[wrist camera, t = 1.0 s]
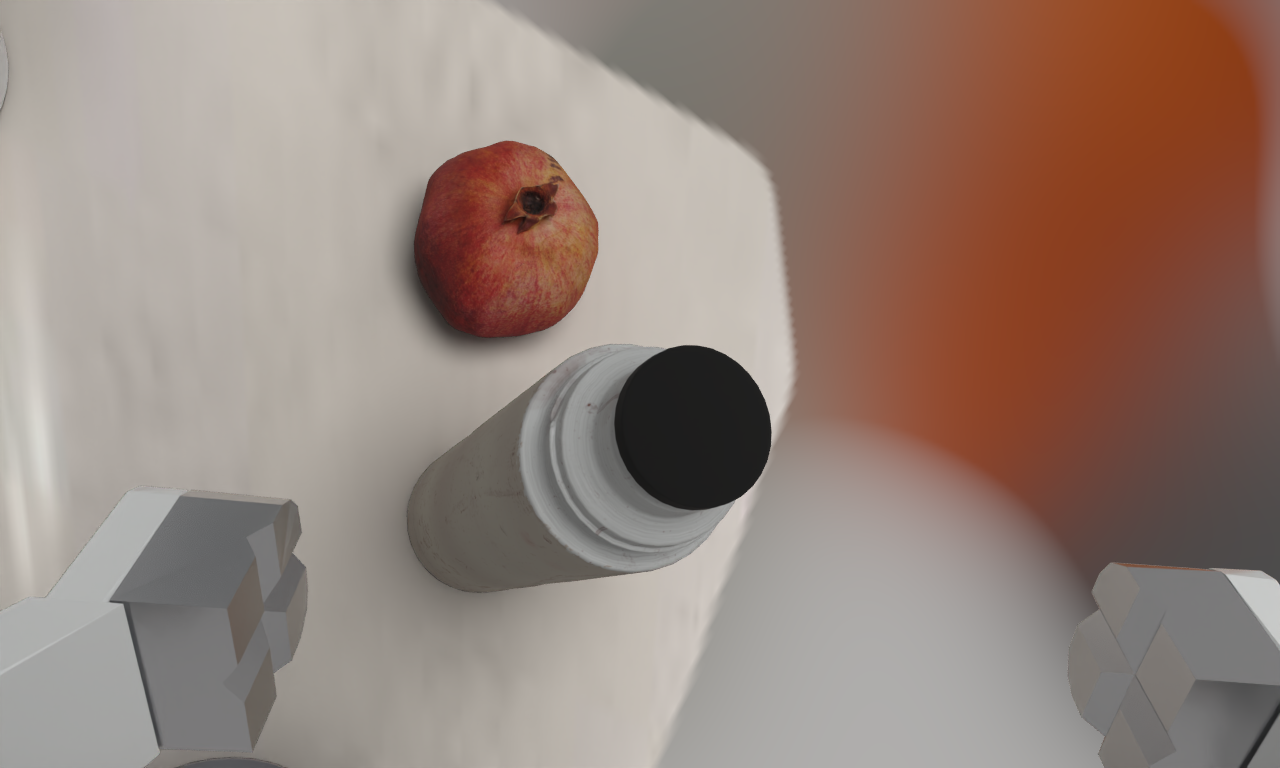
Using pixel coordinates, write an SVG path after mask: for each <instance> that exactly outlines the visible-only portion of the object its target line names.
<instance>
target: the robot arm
mask: <svg viewBox="0 0 1280 768" xmlns="http://www.w3.org/2000/svg"><path fill="white" fill-rule="evenodd" d="M7 84H8V57H7V51H6V46H5V42H4V38H3V35H2V33H1V30H0V109H1V107H2V104H3V101H4V98H5V94H6V89H7ZM301 533H302V531H301V524H300V518H299V512H298V506H297V505H296V504H295V503H294V502H293V501H292V500H291V499H281V498H271V497H261V496H250V495H240V494H230V493H220V492H210V491H200V490H190V491H188V490H183V489H172V488H161V487H150V486H138V487H136V488H134V489H132V490H129V491H128V492H127V493H125V494H124V496H123V497H122V498H121V500H120V501H119V502H118V504H117V505H116V506H115V507H114V509H113V510H112V511H111V513H110V514H109V515H108V517H107V518H106V519H105V521H104V522H103V523H102V524H101V526H100V527H99V528H98V530H97V531H96V532H95V534H94V535H93V536H92V537H91V539H90V540H89V541H88V543H87V544H86V545H85V547H84V548H83V549H82V550H81V552H80V553H79V554H78V556H77V557H76V558H75V560H74V561H73V562H72V564H71V565H70V566H69V567H68V569H67V570H66V571H65V573H64V574H63V575H62V577H61V578H60V579H59V580H58V582H57V583H56V584H55V586H54V587H53V588H52V590H51V591H50V592H49V593H48V595H47V596H46V597H45V598H40V597H27V598H25V599H23V600H22V601H20V602H18V603H16V604H14V605H12V606H10V607H8V608H6V609H4V610H2V611H0V768H144V767H145V766H146V765H147V764H148V763H150V762H151V761H152V760H153V759H154V758H156V757H157V756H158V755H159V754H160V751H159V749H180V750H204V751H229V752H253V750H254V748H255V745H256V743H257V741H258V738H259V736H260V734H261V731H262V729H263V727H264V724H265V722H266V720H267V717H268V715H269V713H270V710H271V708H272V706H273V703H274V701H275V699H276V688H275V681H274V674H273V673H274V672H276V671H277V670H279V669H280V668H282V667H283V666H284V665H286V664H287V663H289V662H290V661H292V658H293V656H294V653H295V651H296V648H297V646H298V643H299V641H300V638H301V634H302V629H303V625H304V620H305V615H306V611H307V593H308V584H307V574H306V567H305V566H304V565H303V564H302V563H301V562H300V561H299V559H298V558H297V557H296V556H295V555H294V554H293V553H292V552H293V550H294V548H295V546H296V544H297V542H298V539H299V537H300V535H301ZM1092 594H1093V596H1094V598H1095V600H1096V603H1097V605H1098V607H1099V610H1098V611H1096V612H1095V613H1093V614H1092V615H1091V616H1089V617H1088V618H1086V619H1085V620H1083V621H1082V622H1081V623H1079V624H1078V625H1077V628H1076V630H1075V633H1074V636H1073V639H1072V641H1071V644H1070V647H1069V652H1068V679H1069V684H1070V689H1071V694H1072V697H1073V699H1074V701H1075V704H1076V706H1077V709H1078V710H1079V713H1080V715H1081V717H1082V718H1083V719H1085V720H1086V721H1087V722H1088V723H1089V724H1090V725H1092V726H1093V727H1094V728H1095V729H1097V730H1098V731H1099V732H1100V733H1101V734H1103V735H1104V736H1105V737H1104V740H1103V743H1102V745H1101V748H1100V750H1099V753H1098V755H1099V757H1100V759H1101V761H1102V763H1103V766H1104V768H1280V585H1279V583H1278V582H1277V581H1276V580H1275V579H1274V578H1272V577H1270V576H1269V575H1267V574H1265V573H1263V572H1262V571H1253V570H1235V569H1217V568H1210V569H1208V570H1206V569H1196V568H1181V567H1168V566H1153V565H1140V564H1126V563H1125V564H1124V563H1110V564H1109V565H1108V566H1107V567H1106V568H1105V569H1104V570H1103V571H1102V572H1101V573H1100V574H1099V576H1098V579H1097V581H1096V583H1095V586H1094V588H1093V590H1092Z"/></svg>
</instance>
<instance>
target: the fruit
mask: <svg viewBox="0 0 1280 768" xmlns="http://www.w3.org/2000/svg"><path fill="white" fill-rule="evenodd" d="M414 253H415V262H416V266H417V271H418V275H419V278H420V281H421V284H422V286H423V288H424V290H425V291H426V293H427V294H428V296H429V298H430V299H431V300H432V302H433V303H434V305H435V306H436V308H437V309H438V310H439V312H440V313H441V314H442V316H443V317H444V318H445V320H446V321H447V322H448V324H450V325H451V326H452V327H453V328H454V329H457V330H460V331H463V332H466V333H469V334H472V335H475V336H479V337H489V338H491V337H512V336H521V335H525V334H530V333H533V332H537V331H542V330H545V329H547V328H549V327H551V326H553V325H555V324H556V323H557V322H559V321H560V320H561V319H562V318H564V317H565V316H566V315H567V314H568V313H569V312H570V311H571V310H572V309H573V308H574V307H575V305H576V304H577V302H578V301H579V299H580V298H581V296H582V294H583V292H584V290H585V287H586V285H587V282H588V280H589V278H590V275H591V272H592V269H593V266H594V263H595V260H596V257H597V254H598V222H597V219H596V217H595V215H594V213H593V211H592V209H591V208H590V206H589V204H588V203H587V201H586V200H585V198H584V196H583V195H582V194H581V192H580V191H579V189H578V188H577V187H576V185H575V184H574V183H573V182H572V180H571V179H570V178H569V176H568V175H567V173H566V172H565V171H564V169H563V168H562V167H561V166H560V165H559V163H558V162H557V161H556V160H555V159H554V158H553V157H552V156H550V155H549V154H547V153H545V152H544V151H542V150H540V149H538V148H536V147H534V146H529V145H526V144H522V143H519V142H515V141H503V142H498V143H495V144H493V145H490V146H487V147H484V148H479V149H475V150H471V151H467V152H464V153H462V154H460V155H458V156H456V157H454V158H452V159H450V160H447V161H446V162H445V163H444V164H443V165H441V166H440V167H439V168H438V169H437V170H436V171H435V172H434V173H433V175H432V176H431V177H430V179H429V181H428V184H427V189H426V193H425V197H424V201H423V206H422V210H421V214H420V217H419V221H418V225H417V229H416V234H415V240H414Z"/></svg>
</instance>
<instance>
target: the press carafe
mask: <svg viewBox="0 0 1280 768" xmlns="http://www.w3.org/2000/svg"><path fill="white" fill-rule="evenodd" d="M176 768H286V767H283V766H280V765H277V764H275V763H272V762H267V761H263V760H258V759H253V758H238V757H227V758H212V759H207V760H202V761H196V762H191V763H188V764H185V765H182V766H179V767H176Z"/></svg>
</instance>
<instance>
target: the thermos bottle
mask: <svg viewBox="0 0 1280 768" xmlns="http://www.w3.org/2000/svg"><path fill="white" fill-rule="evenodd" d="M770 447H771V423H770V415H769V412H768V408H767V405H766V402H765V399H764V397H763V395H762V393H761V391H760V389H759V387H758V385H757V384H756V383H755V381H754V380H753V379H752V377H751V376H750V374H749V373H748V372H747V371H746V370H745V369H744V368H743V367H742V366H741V365H740V364H738V363H737V362H736V361H734V360H733V359H731V358H730V357H728V356H727V355H725V354H723V353H721V352H718V351H716V350H714V349H711V348H707V347H702V346H694V345H683V346H678V347H673V348H669V349H664V348H659V347H642V346H637V345H632V344H609V345H604V346H599V347H594V348H590V349H587V350H585V351H583V352H580V353H578V354H576V355H574V356H571V357H570V358H568V359H567V360H565V361H564V362H563V363H561V364H560V365H559V366H557V367H556V368H554V369H553V370H552V371H550V372H549V373H548V374H547V375H545V376H544V377H543V378H541V379H540V380H539V381H538V382H536V383H535V384H534V385H532V386H531V387H530V388H529V389H527V390H526V391H525V392H523V393H522V394H521V395H519V396H518V397H517V398H516V399H514V400H513V401H512V402H510V403H509V404H508V405H507V406H505V407H504V408H503V409H501V410H500V411H499V412H498V413H496V414H495V415H494V416H492V417H491V418H490V419H489V420H487V421H486V422H485V423H483V424H482V425H481V426H480V427H478V428H477V429H476V430H475V431H474V432H473V433H472V434H471V435H469V436H468V437H466V438H465V439H464V440H462V441H461V442H459V443H458V444H457V445H455V446H454V447H453V448H451V449H450V450H449V451H447V452H446V453H445V454H444V455H442V456H441V457H440V458H438V459H437V460H436V461H435V462H433V463H432V464H431V465H430V466H429V467H428V468H427V469H426V471H425V472H424V473H423V474H422V475H421V477H420V478H419V480H418V482H417V483H416V485H415V487H414V489H413V492H412V495H411V497H410V500H409V506H408V512H407V525H408V533H409V537H410V541H411V545H412V547H413V549H414V551H415V553H416V555H417V557H418V559H419V560H420V561H421V563H422V564H423V565H424V567H425V568H426V569H427V570H428V571H429V572H430V573H431V574H432V575H433V576H434V577H436V578H437V579H438V580H440V581H441V582H443V583H445V584H447V585H449V586H450V587H453V588H456V589H459V590H462V591H468V592H477V593H481V592H492V591H502V590H507V589H513V588H523V587H531V586H538V585H543V584H550V583H560V582H570V581H578V580H586V579H593V578H601V577H609V576H617V575H625V574H633V573H640V572H648V571H653V570H656V569H659V568H662V567H666V566H669V565H672V564H674V563H676V562H677V561H679V560H681V559H683V558H684V557H686V556H688V555H689V554H691V553H692V552H693V551H694V550H695V549H696V548H698V547H699V546H700V545H701V544H702V543H703V542H704V541H705V540H706V539H707V538H708V537H709V535H710V534H711V533H712V531H713V530H714V528H715V527H716V526H717V524H718V523H719V522H720V521H721V520H722V519H723V518H724V516H725V515H726V514H727V512H728V511H729V510H730V508H731V507H732V505H733V504H734V502H735V500H736V499H738V498H739V497H741V496H742V495H743V494H745V493H746V492H747V491H748V490H749V489H750V488H751V487H752V486H753V485H754V484H755V482H756V481H757V479H758V478H759V477H760V475H761V474H762V471H763V469H764V467H765V465H766V463H767V460H768V456H769V451H770Z"/></svg>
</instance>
